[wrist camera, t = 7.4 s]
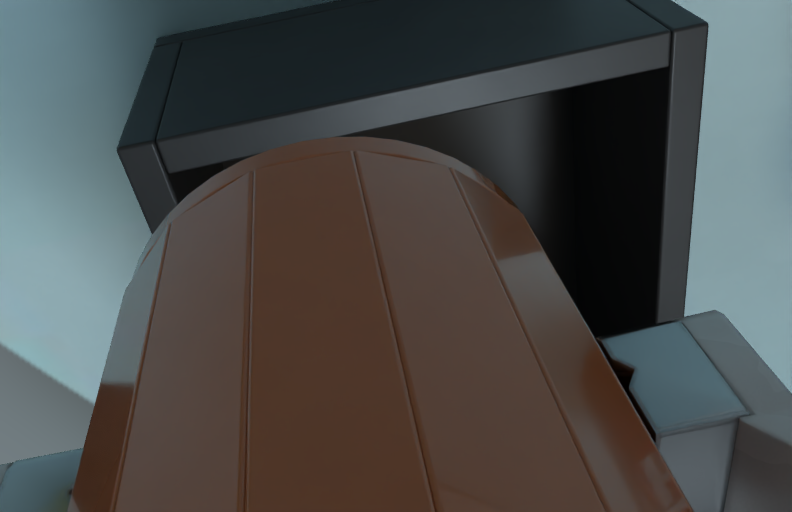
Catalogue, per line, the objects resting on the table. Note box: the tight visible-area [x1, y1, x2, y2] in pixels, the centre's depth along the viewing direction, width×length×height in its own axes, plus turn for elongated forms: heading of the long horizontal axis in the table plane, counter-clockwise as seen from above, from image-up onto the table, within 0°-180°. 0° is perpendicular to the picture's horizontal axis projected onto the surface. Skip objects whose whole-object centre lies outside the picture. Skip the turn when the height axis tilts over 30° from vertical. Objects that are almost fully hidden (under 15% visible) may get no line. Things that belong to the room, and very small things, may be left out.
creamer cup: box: [67, 137, 695, 512], centre depth 8 cm, size 6×6×6 cm
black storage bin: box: [117, 0, 708, 337], centre depth 25 cm, size 18×14×8 cm
